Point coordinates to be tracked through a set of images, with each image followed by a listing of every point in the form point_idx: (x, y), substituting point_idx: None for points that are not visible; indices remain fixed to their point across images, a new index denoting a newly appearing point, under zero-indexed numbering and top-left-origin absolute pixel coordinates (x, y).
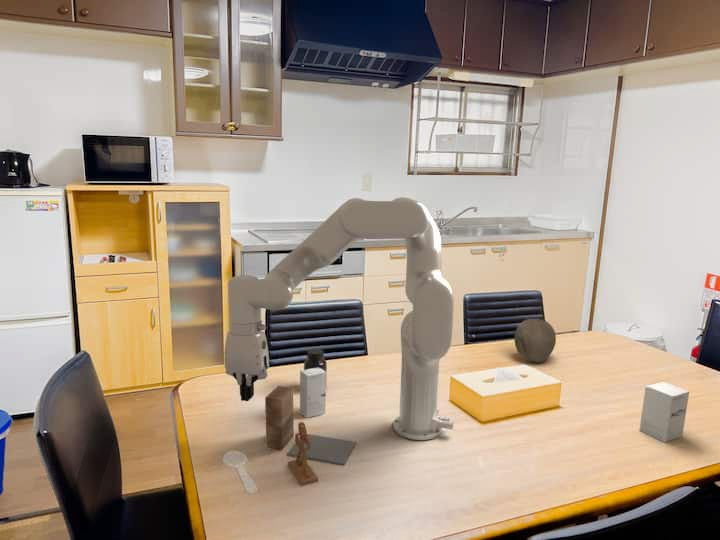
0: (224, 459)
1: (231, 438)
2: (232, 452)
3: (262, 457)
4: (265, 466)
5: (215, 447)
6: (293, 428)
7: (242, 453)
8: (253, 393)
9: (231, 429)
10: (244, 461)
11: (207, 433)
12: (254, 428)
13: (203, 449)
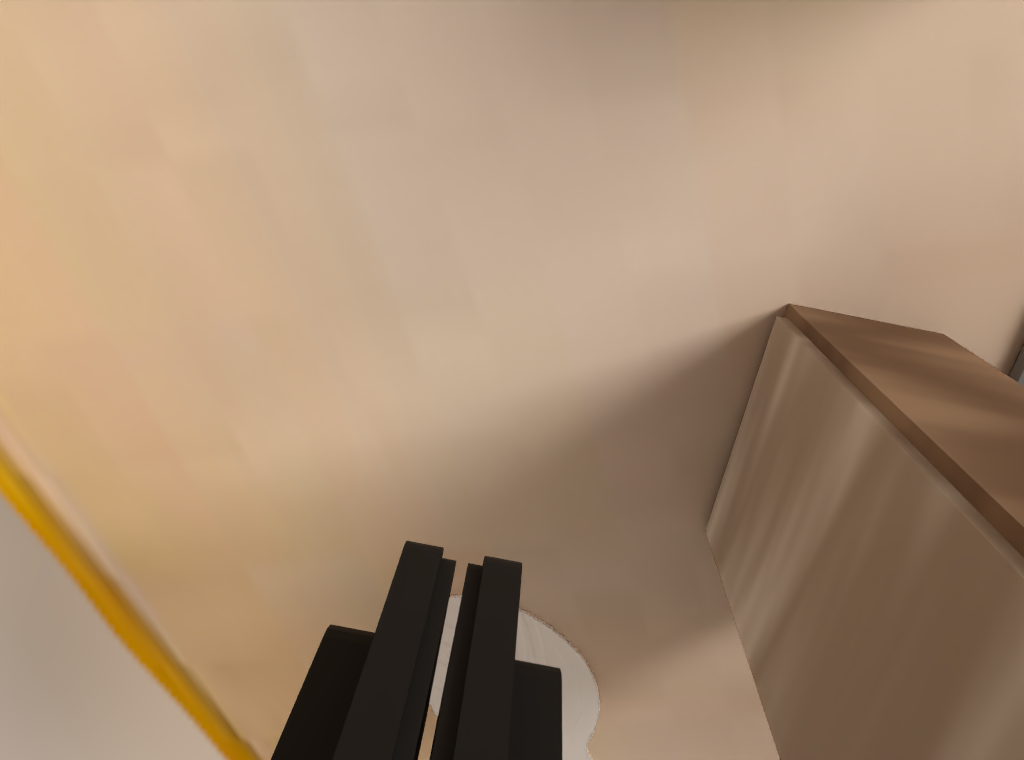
0: (434, 696)
1: (365, 425)
2: (457, 616)
3: (702, 653)
4: (745, 742)
5: (298, 560)
6: (988, 365)
7: (538, 625)
8: (558, 696)
9: (296, 270)
10: (583, 706)
11: (118, 365)
12: (515, 223)
13: (223, 591)
